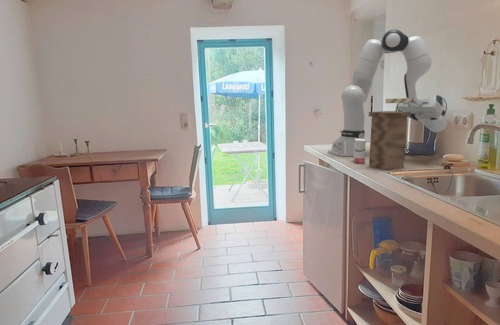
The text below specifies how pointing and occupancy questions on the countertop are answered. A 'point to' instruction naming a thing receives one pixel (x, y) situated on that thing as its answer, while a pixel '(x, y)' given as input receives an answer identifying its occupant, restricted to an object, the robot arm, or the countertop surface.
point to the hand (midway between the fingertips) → (410, 99)
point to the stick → (400, 100)
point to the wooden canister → (388, 139)
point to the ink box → (359, 151)
